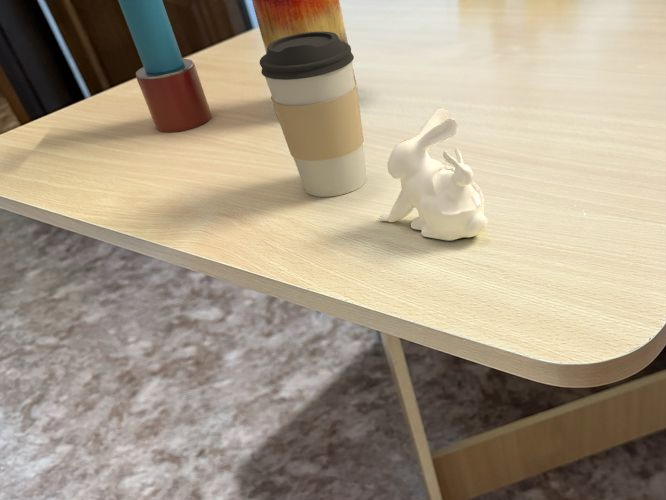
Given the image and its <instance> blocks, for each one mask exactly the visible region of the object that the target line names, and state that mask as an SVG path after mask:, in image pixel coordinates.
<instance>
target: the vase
mask: <svg viewBox="0 0 666 500" xmlns="http://www.w3.org/2000/svg"><path fill="white" fill-rule="evenodd" d="M251 1H252V5H253V9H254V13H255V18H256V21H257V25H258V27H259V32H260V35H261V39H262V44H263V47H264V50H265V54H267V46H268V45H269V44H270V43H272V42H273V41H275V40H278V39H280V38H283V37H287V36H291V35H295V34H300V33H307V32H332V33H335V34H337V36H338V37H339V39H340V40H341V41H342V42H345V43H347V44H349V41H348V36H347V31H346V26H345V20H344V16H343V11H342V7H341V1H340V0H251ZM353 72H354V73H355V71H354V70H353ZM354 80H355V81H356V76H355V75H354ZM357 92H358V90H357ZM358 93H359V92H358Z"/></svg>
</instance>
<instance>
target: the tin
mask: <svg viewBox="0 0 666 500" xmlns="http://www.w3.org/2000/svg"><path fill="white" fill-rule="evenodd" d="M182 59H183V62H184V64H183V66H181V67H179V68H177V69H175V70H172V71H168V72H163V73H147V72H146V71H145V69H144V67H143V66H142V67H141V68H139V69H138V70H137V71H136V72H135V78H136V81H137V83H138V85H139V89H140V91H141V93H142V96H143V98H144V101H145V103H146V106H147V109H148V111H149V114H150V116H151V118H152V122H153V124H154V126H155V128H156V130H157V131H159V132H163V133H177V132H184V131H188V130H192V129H194V128H198V127H200V126H202V125H204V124H206V123H207V122H209V121H210V120H211V119H212V116H213V115H212V113H211V109H210V106H209V103H208V99H207V97H206V94H205V91H204V88H203V85H202V82H201V79H200V76H199V74H198V71H197V68H196V65H195V62H193V60H192V59H189V58H182Z"/></svg>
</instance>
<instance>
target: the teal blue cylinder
mask: <svg viewBox="0 0 666 500" xmlns="http://www.w3.org/2000/svg"><path fill="white" fill-rule="evenodd" d="M117 1H118V4H119V6H120V9H121V12H122V14H123V17H124V19H125V22H126V25H127V28H128V30H129V33H130V35H131V38H132V41H133V43H134V45H135V48H136V51H137V53H138V56H139V58H140V61H141V63H142V68H143V67H144V69H145V71H146V72H147V73H163V72H168V71H172V70H175V69H177V68H179V67H181V66H183V64H184V62H183V59H184V58H183V56H182V53H181V51H180V48H179V44H178V41H177V39H176V36H175V33H174V30H173V27H172V25H171V21H170V19H169V16H168V14H167V10H166V8H165V5H164V1H163V0H117Z"/></svg>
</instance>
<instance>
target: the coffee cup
mask: <svg viewBox="0 0 666 500" xmlns="http://www.w3.org/2000/svg"><path fill="white" fill-rule="evenodd" d="M354 58H355V56H354V54H353V53H352V46H351V45H350V44H349V43H348V44H347V43H345V42H342V41H341V40H340V39H339V37H338V36H337V34H335V33H332V32H307V33H300V34H295V35H291V36H287V37H283V38H280V39H278V40H275V41H273V42H272V43H270V44H269V45H268V46H267V54H266V53H265V54H264V55H263V56H262V57H260V59H259V66H260V68H261V72H260V73H261V75H262V76H263V77H264V78H265V81H266V83H267V86H268V89H269V92H270V94H271V96H270V100H271V103H272V106H273V108H274V111H275V114H276V116H277V117H276V118H277V121H278V122H279V126H280V128H281V131H282V134H283V136H284V137H283V138H284V139H285V142H286V144H287V148H288V151H289V153H290V155H291V156H292V157H293V160H294V163H295V165H296V168H297V171H298V174H299V178H300V180H301V183H302V185H303V188H304V191H305V192H306V194H308V195H311V196H314V197H322V198H325V197H329V198H330V197H338V196H341V195H346V194H349V193H352V192H354V191H356V190H358V189H360V188H362V187H363V186H364V185H365V184H366V182H367V181H368V174H367V173H368V171H367V164H366V157H365V149H364V142H365V141H364V140H365V138H364V131H363V123H362V117H361V107H360V99H359V92H357V91H358V85H357V81H356V79H355V80H354V76H355V71H354V66H353V65H354V64H353V61H354ZM353 71H354V72H353Z"/></svg>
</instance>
